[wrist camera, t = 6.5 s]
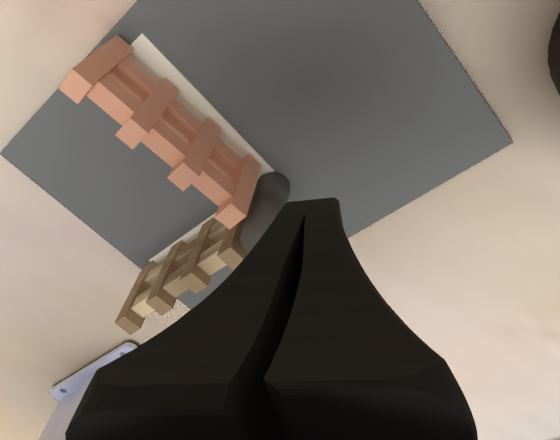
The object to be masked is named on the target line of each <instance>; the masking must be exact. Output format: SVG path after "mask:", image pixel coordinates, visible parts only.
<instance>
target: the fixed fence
mask: <svg viewBox="0 0 560 440" xmlns="http://www.w3.org/2000/svg"><path fill="white" fill-rule="evenodd" d="M289 193H290V183H289V180H288V179H287V178H286V177H285V176H284V175H283V174H281V173H279V172H268V173H265V174H263V175H261V176H260V177H259V179H258V180H257V183H256V187H255V190H254V193H253V197H252V199H251V202H250V206H249V209H248V212H247V216H246V217H245V218H244V219H242V220H241V221H240V222H239V223H237V224H236V225H235V226H234V227H232V228H231V229H230V230H229V229H228V228H227V227H226V226H225V225H223V224H222V223H221V222H220V221H219V222H218V221H217V220H216V219H215V218H214V217H213V218H211V219H210V220H208V221H207V222H206V223H204V224H203V225H202V227H201V229H200V232H199V234H198V237H196V238H195V239H194V240H192V241H191V242H189V243H188V244H186V243H185V242H184V241H183V240H180V241H179V242H177V243H176V244H175V245H173V246H172V247H171V249H170V251H169V253H168V255H167V258H166V259H165V260H164V261H162V262H161V263H159V264H157V263H156V262H154V261H153V260H152V261H151V262H148V263H147V264H146V265H144V266H143V268H142V270H141V272H140V274H139V276H138V278H137V280H136V282H135V284H134V286H133V288H132V290H131V292H130V294H129V296H128V298H127V300H126V302H125V304H124V305H123V307H122V309H121V311H120V313H119V315H118V317H117V319H116V321H115V324H117V325H118V326H119V327H121V328H122V329H123V330H125V331H126V332H128V333H129V334H130V335H131V334H132V333H134V332H136V331H137V330H139V329H140V328H141V326H142V324H143V322H144V320H145V317H146V316H147V315H149V314H150V313H152V312H153V311H157V312H158V313H159V314H161V315H163V314H165V313H166V312H168V311H169V310H171V309H173V306H174V304H175V301H176V299H177V296H179V295H180V294H182V293H183V292H185V291H187V290H188V289H190V290H191V291H193V292H194V293H195V294H197V293H198V292H200V291H202V290H203V289H205V288H206V287H208V285H209V282H210V279H211V276H212V274H213V273H215V272H217V271H218V270H220V269H221V268H223V267H224V266H226V265H228V266H229V267H230V268H231V269H232V270H233V271H234V270H235V268H236V267H237V266H238V265H239V264H240V263H241V262H242V260H243V259H244V258H245V257H246V256H247V255H248V253H249V252H250V251H251V250H252V248H253V247H254V246H255V244H256V243H257V242H258V240H259V239H260V238H261V237H262V235H263V234H264V233H265V231H266V230H267V228H268V227H269V226H270V224H271V223H272V221H273V220H274V219H275V217H276V216H277V214H278V213H279V212H280V210H281V209H282V207H283V206H284V205H285V204H286V202H288V198H289Z"/></svg>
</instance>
